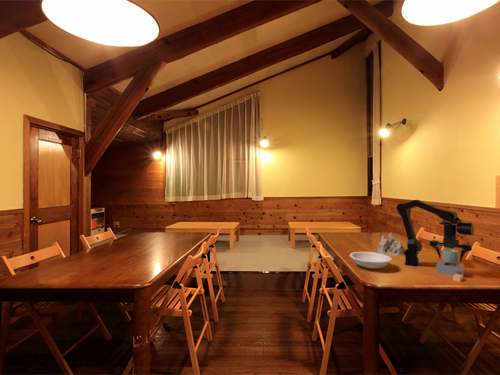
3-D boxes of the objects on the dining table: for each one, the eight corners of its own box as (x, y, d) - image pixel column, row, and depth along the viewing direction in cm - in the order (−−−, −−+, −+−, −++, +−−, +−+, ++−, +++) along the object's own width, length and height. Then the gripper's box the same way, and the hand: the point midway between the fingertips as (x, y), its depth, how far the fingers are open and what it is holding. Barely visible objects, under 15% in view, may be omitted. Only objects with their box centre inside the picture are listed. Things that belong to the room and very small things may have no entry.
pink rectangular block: (452, 280, 136) (452, 275, 136) (456, 278, 139) (456, 273, 139) (459, 281, 134) (459, 277, 134) (463, 279, 137) (462, 275, 137)
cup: (440, 265, 160) (440, 249, 160) (447, 263, 164) (447, 248, 164) (454, 269, 153) (453, 252, 153) (461, 267, 156) (461, 251, 156)
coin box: (436, 272, 147) (436, 264, 147) (438, 268, 154) (438, 260, 154) (463, 277, 139) (463, 268, 139) (464, 273, 146) (464, 264, 146)
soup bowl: (350, 271, 152) (350, 260, 152) (349, 260, 175) (349, 250, 175) (396, 275, 144) (395, 263, 144) (388, 263, 166) (388, 253, 166)
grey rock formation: (374, 250, 200) (375, 231, 198) (395, 250, 199) (397, 232, 198) (384, 257, 184) (386, 236, 183) (407, 257, 184) (409, 237, 183)
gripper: (427, 233, 147) (428, 260, 147) (470, 237, 134) (471, 266, 134) (430, 230, 155) (431, 256, 155) (471, 234, 142) (471, 261, 142)
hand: (450, 260), depth 146 cm, fingers open, 9 cm apart
